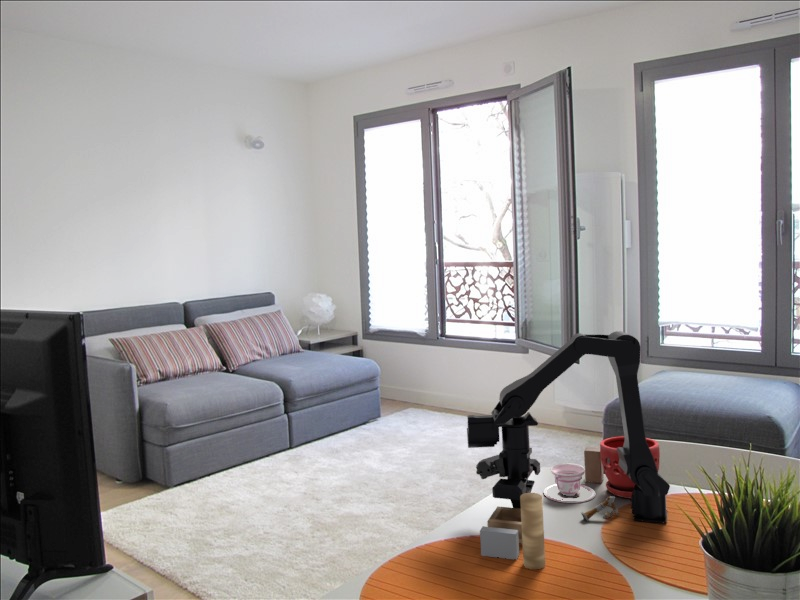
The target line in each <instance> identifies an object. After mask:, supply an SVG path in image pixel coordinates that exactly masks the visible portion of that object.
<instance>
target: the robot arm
mask: <svg viewBox="0 0 800 600" xmlns="http://www.w3.org/2000/svg"><path fill="white" fill-rule="evenodd" d="M585 355H592V356H601V357H607V358H608V360H609V363H610V366H611V367H612V370H613V373H614V375H615V380H616V387H617V394H618V400H619V409H620V415H621V422H622V428H623V436H624V437H625V440H624V445H623V447H617V452H618V455H619V463H618V465H619V466H620V467H621V468H622V469H623V471H624V472H625V473H626V474H627V475H628V477H629V478H630V479H631V480H632V482H633V483H635V486H634V492H632V494H631V498H630V501H631V503H630V504H631V515H633V520H634V521H635V522H637V521H638V522H647V523H649V522H650V523H660V524H667V521H668V510H667V495H668V494H669V490H670V487H671V485H670V484H669V482H667V481H666V479H664V477H662V476H661V475H660V473H659V471H658V470H657V467H656V464H655V461H654V458H653V455H652V453H651V451H650V448H649V446H648V444H647V441H646V438H647V437H646V430H645V422H644V416H643V408H642V402H641V395H640V394H641V393H640V388H639V379H638V374H639V369H640V365H641V343H640V342H639V339H637V338H636V337H635V336H633V335H631V334H630V333H627V332H624V331H622V330H619V331H618V330H616V331H612V332H611V333H610V334H601V333H600V334H598V333H597V334H585V333H582V332H581V333H579V332H578V333H575V334H572V337H571V338H570V339H569V340H568V341H567V342H566V343H565V344H563V345H562V346H561V347H560V348H559V349H557V350H556V351H555V352H554V353H552V355H550V356H549V357H548V358H547V359H546V360H545V361H543V363H541V364H540V365H538V367H537V368H535V369H534V370H533V371H531V373H529V374H527V375H525V376H523V377H520V378H518V379H516V380H514V381H513V382H512V383H510V384H508V385H506V386H505V387H503V388H502V389H501V391H500V393H499V397H498V398H499V399H498V400H499V401H498V403H497V404H496V405H495V406H494V408H493V410H492V411H491V413H490V414H491V415H489V414H488V415H474V414H467V427H466V438H467V448H468V449H473V448H474V449H475V448H476V449H477V448H495V445H498V443H499V442H500V428H501V441H502V450H501V451H500V452H499V453H498V454H496V455H492V456H489V457H486V458H483V459H481V460H479V462H477V464H475V465H476V466H475V468H476V472H475V473H476V475H477V476H478V475H479V476H480V478H481V480H485V479H487V478H489V477H493V476H496V475H498V476H499V480H497V481H496V483H495V484H494V485H493V486H492V488H491V490H492V498H494V499H503V500H510V502H511V505H512V508H520V509H521V502H520V496H521V495H522V494H524V493H532V490H533V487H534V484H535V483H536V482H535V480H530V479H529V478H530V477H531V474H533V472H534V474H535V476H539V474H540V472H541V463H540V461H538V460H537V458H531V455H532V453H533V447H530V446H531V445H530V426H535V427H536V426H538V425H539V422H538V421H537V418H535V417H534V416H533V415H532V414H531V412H530V408H531V407H532V406H533V405H534V404H535V403H536V401H537V400H538V398H539V396H540V395H541V393H542V392H543V391H544V390H545V389H546V388H547V387H548V386H550V384H552V383H553V382H554V381H556V380H557V379H558V378H559V377H560V376H561V375H562V374H564V373H565V372H566V371H567V370H569V368H571V367H572V366H573V365H574V364H576V362H578V361H579V360H580V359H581V358H582V357H584V356H585Z"/></svg>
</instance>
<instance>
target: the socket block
mask: <svg viewBox="0 0 800 600" xmlns="http://www.w3.org/2000/svg"><path fill="white" fill-rule="evenodd" d="M487 527H494V528H504V529H513V530H518V537H519V543H521V544H520V545H523V544H522V523H521V509H520V508H513V507H509V506H508V507H507V506H497V507H496V508H495V510H494V511H493V512H492V514H491V515H490V516H489V518H488V519H487Z"/></svg>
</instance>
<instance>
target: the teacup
mask: <svg viewBox="0 0 800 600" xmlns="http://www.w3.org/2000/svg"><path fill="white" fill-rule="evenodd" d="M550 472H551V473H552V474H553V475H554V478H555V480H554V482H555V484H552V485H548V486H547V487H546V488H544V489H543V493H544V494H543V493H542V494H543V496H544V495H545V496H546V498H547V499H548V500H551V501H555V502H559V503H563V504H564V503H565V504H579V503H580V504H581V503H585V502H589V501H591V500H593V499H594V498H596V491H595V490H594V489H593V488H591V487H589V486H587V485H584V484H581V481H582V479H583V475H585V465H581V464H579V463H570V462H569V463H567V462H564V463H558V464H554V465H553V466H552V467H550ZM553 486H557V489H558V490H559V491H560V493H561V494H563V496H564V495H566V496H565V497H574V496H576V495H575V494H577V493H578V491H579V490H580V487H583V488H585V489H587V490H588V491H590V492H591V493H592V494H591V496H590V497H589V498H587V499H585V500H581V501H561V500H557V499H554V498H551V497H550V496H548V495H547V490H548V489H549V488H551V487H553ZM573 495H574V496H573ZM545 496H544V497H545ZM562 500H563V499H562Z"/></svg>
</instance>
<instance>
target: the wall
mask: <svg viewBox="0 0 800 600" xmlns="http://www.w3.org/2000/svg"><path fill="white" fill-rule="evenodd" d="M479 536H480V542H479V543H480V556H482V557H489V558H490V557H492V558H497V557H499V558H498V559H505V558H506V559H507V560H514V559H516V561H517V560H518V559H519V557H520V544H519V537H518V530H513V529H504V528H494V527H488V526H482V527H481V528H480V530H479ZM518 556H519V557H518ZM517 558H518V559H517Z"/></svg>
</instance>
